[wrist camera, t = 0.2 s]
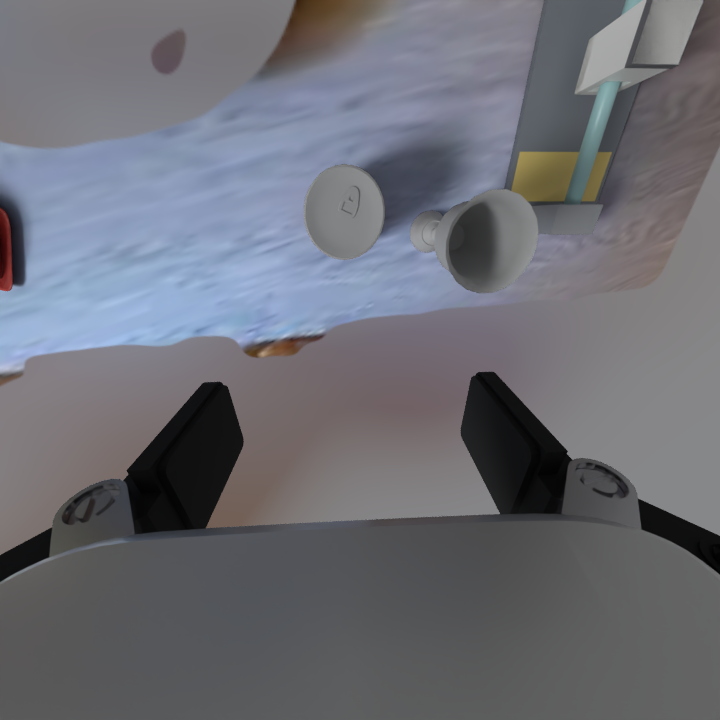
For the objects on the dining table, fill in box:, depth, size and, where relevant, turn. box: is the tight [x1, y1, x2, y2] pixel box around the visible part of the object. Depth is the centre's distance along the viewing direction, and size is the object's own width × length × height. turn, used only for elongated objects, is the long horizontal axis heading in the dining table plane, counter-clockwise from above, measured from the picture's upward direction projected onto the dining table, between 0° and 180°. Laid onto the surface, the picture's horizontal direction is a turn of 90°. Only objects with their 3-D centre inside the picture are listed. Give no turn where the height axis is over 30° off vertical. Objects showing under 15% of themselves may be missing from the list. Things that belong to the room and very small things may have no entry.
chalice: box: [410, 189, 539, 293], centre depth 28 cm, size 7×7×18 cm
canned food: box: [304, 164, 385, 260], centre depth 30 cm, size 8×8×11 cm
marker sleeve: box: [574, 0, 704, 95], centre depth 24 cm, size 4×4×6 cm
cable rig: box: [505, 0, 642, 235], centre depth 28 cm, size 26×12×6 cm, turn 0°
